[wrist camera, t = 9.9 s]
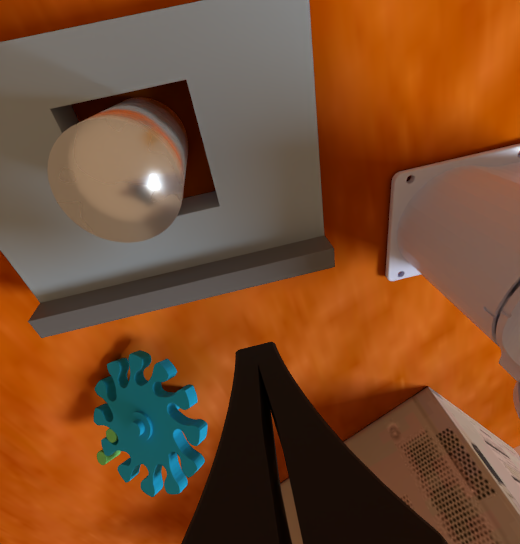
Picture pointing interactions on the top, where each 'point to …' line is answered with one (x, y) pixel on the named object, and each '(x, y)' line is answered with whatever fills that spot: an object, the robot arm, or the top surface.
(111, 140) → the cylindrical peg
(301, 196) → the plate
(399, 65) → the top surface
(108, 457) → the gear
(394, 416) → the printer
